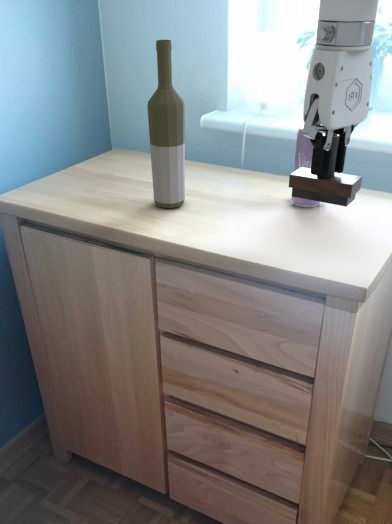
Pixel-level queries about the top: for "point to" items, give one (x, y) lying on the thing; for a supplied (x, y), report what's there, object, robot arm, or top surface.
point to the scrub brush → (325, 183)
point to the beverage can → (303, 163)
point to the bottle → (167, 134)
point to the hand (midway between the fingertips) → (326, 172)
